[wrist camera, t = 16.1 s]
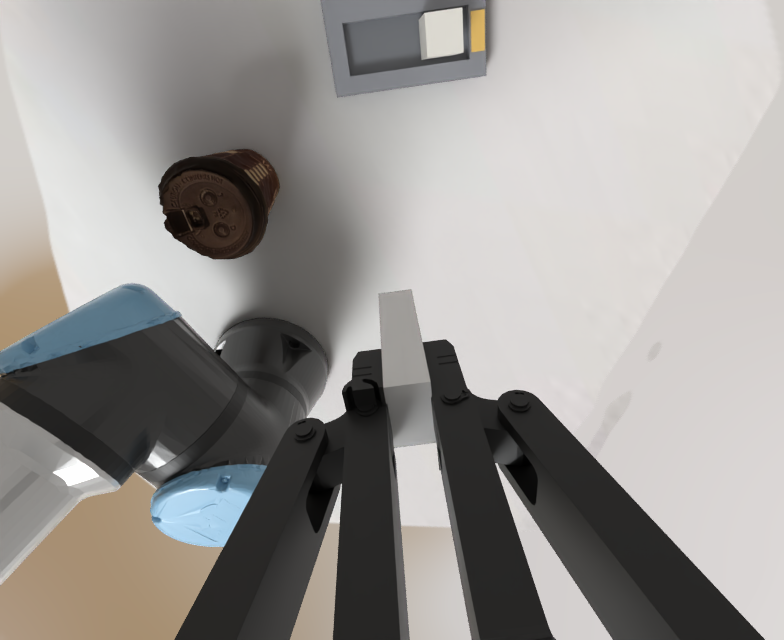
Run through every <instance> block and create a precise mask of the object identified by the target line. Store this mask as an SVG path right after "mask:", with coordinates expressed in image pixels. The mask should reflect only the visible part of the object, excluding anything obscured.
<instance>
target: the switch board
mask: <svg viewBox="0 0 784 640" xmlns="http://www.w3.org/2000/svg"><path fill="white" fill-rule="evenodd" d="M321 6H322V11H323V17H324V23H325V29H326V35H327V41H328V47H329V53H330V58H331V64H332V70H333V76H334V82H335V88H336V94H337V97H343V96H350V95H357V94H364V93H371V92H378V91H385V90H392V89H399V88H405V87H412V86H419V85H426V84H433V83H440V82H447V81H454V80H461V79H468V78H475V77H481V76H486V0H321ZM461 7H462V13H463V47H464V52H463V53H460V54H456V55H451V56H444V57H438V58H431V59H424V60H421V47H420V34H419V21H418V20H419V19H420V18H421V16H422V15H423V14H424V13H428V12H434V11H441V10H448V9H455V8H461Z"/></svg>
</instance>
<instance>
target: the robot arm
mask: <svg viewBox="0 0 784 640" xmlns="http://www.w3.org/2000/svg"><path fill="white" fill-rule="evenodd" d="M379 313H380V332H381V349H376V350H369V351H361V352H358V353H357V355H356V356H355V358H354V359H353V367H352V369H353V370H352V380H351V381H349V382H348V383H347V384H346V385H345V386H344V388H343V390H342V395H343V399H344V403H345V407H346V412H345V413H344V414H343V415H342V416H341V417H339V418H337V419H335V420H333V421H331V422H328V423H325V424H324V423H323V422H322V421H320V420H319V419H315V418H306V417H307V416H308V414H309V413H310V411H311V410H312V408H313V407H314V405H315V404H316V402H317V401H318V400H319V399H320V397H321V395H322V393H323V391H324V389H325V385H326V381H327V373H328V363H327V358H326V355H325V353H324V351H323V349H322V347H321V346H320V344H319V343H318V342H317V340H316V339H315V338H314V337H313V336H312V335H310V334H309V333H308V332H307V331H305V330H304V329H302V328H300V327H298V326H296V325H294V324H292V323H289V322H286V321H282V320H278V319H270V318H259V319H252V320H247V321H244V322H241V323H239V324H237V325H235V326H233V327H232V328H230V329H229V330H228V331H226V332H225V333H224V334H223V335H222V337H221V338H220V339H219V341H218V343H217V344H216V346H215V348H214V350H213V349H212V348H211V347H210V346H209V345H208V344H207V343H206V342H205V341H204V340H203V339H202V338H201V337H200V336H199V335H198V334H197V333H196V332H195V331H194V330H193V328H192V327H191V326H190V325H189V324H188V323H187V322H186V321H185V320H184V319H183V318H182V317H181V313H180V312H178V311H174V310H173V309H172V308H171V307H170V306H169V305H168V304H166V303H165V302H164V301H163V300H162V299H161V298H160V297H159V296H158V295H157V294H155V293H154V292H153V291H152V290H151V289H149V288H148V287H146V286H144V285H141V284H135V283H130V284H124V285H121V286H119V287H117V288H114V289H112V290H111V291H109V292H107V293H105V294H103V295H101V296H99V297H97V298H95V299H94V300H92V301H90V302H88V303H86V304H84V305H82V306H81V307H79V308H77V309H75V310H73V311H72V312H70V313H68V314H66V315H64V316H62V317H60V318H59V319H57V320H55V321H53V322H51V323H49V324H48V325H46V326H44V327H42V328H40V329H39V330H37V331H35V332H33V333H31V334H30V335H28V336H26V337H24V338H23V339H21V340H19V341H18V342H16V343H14V344H12V345H10V346H9V347H7V348H5V349H3V350H1V351H0V375H1V377H0V585H1V584H2V583H3V582H4V581H5V580H6V579H7V578H8V577H9V576H10V575H11V573H12V572H13V571H14V570H15V569H16V568H17V567H18V566H19V565H20V564H21V563H22V562H23V561H24V560H25V559H26V558H27V556H29V554H30V553H31V552H32V551H33V550H34V549H35V548H36V547H37V546H38V545H39V544H40V543H41V542H42V541H43V540H44V539H45V537H46V536H47V535H48V534H49V533H50V532H51V531H52V530H53V529H54V528H55V527H56V526H57V525H58V524H59V523H60V522H61V520H62V519H63V518H64V517H65V516H66V515H67V514H68V513H69V512H70V511H71V510H72V509H73V508H74V507H75V506H76V505H77V504H78V503H79V501H81V500H83V499H85V498H87V497H89V496H94V495H98V494H103V493H108V492H113V491H116V490H118V489H119V488H120V487H121V486H122V485H123V484H124V482H125V481H126V480H127V479H128V478H129V477H130V476H131V475H132V473H134V472H136V473H138V474H139V475H141V476H142V477H143V478H145V479H146V480H147V481H149V482H150V483H151V484H153V485H154V486H155V487H156V488H157V490H156V492H155V493H154V494H153V496H152V499H151V508H150V512H151V514H152V521H153V523H154V524H155V526H156V527H157V528H158V529H159V530H160V531H162V532H163V533H164V534H166V535H168V536H170V537H171V538H173V539H176V540H179V541H181V542H185V543H188V544H193V545H199V546H208V547H218V546H219V547H224V548H223V550H222V552H221V553H220V555H219V557H218V559H217V561H216V563H215V565H214V567H213V568H212V570H211V572H210V574H209V576H208V578H207V580H206V581H205V583H204V585H203V587H202V589H201V591H200V593H199V595H198V596H197V598H196V600H195V602H194V604H193V606H192V608H191V610H190V611H189V614H188V615H187V617H186V619H185V621H184V623H183V625H182V626H181V628H180V630H179V632H178V634H177V636H176V638H175V640H290V637H291V634H292V631H293V628H294V625H295V622H296V619H297V616H298V613H299V610H300V607H301V604H302V601H303V598H304V595H305V592H306V589H307V586H308V583H309V580H310V577H311V574H312V571H313V568H314V565H315V562H316V559H317V556H318V553H319V550H320V547H321V544H322V541H323V538H324V535H325V532H326V529H327V526H328V523H329V520H330V517H331V514H332V511H333V508H334V505H335V502H336V499H337V496H338V493H339V490H340V485H341V484H342V495H341V512H340V530H339V547H338V563H337V580H336V596H335V614H334V631H333V640H410V639H409V627H408V613H407V600H406V588H405V574H404V561H403V548H402V535H401V522H400V509H399V496H398V483H397V470H396V459H395V453H394V448H398V447H406V446H413V445H421V444H429V443H437V451H438V461H439V470H441V475H442V480H443V485H444V491H445V496H446V502H447V507H448V513H449V518H450V524H451V529H452V535H453V540H454V545H455V551H456V556H457V562H458V567H459V572H460V578H461V584H462V589H463V594H464V599H465V605H466V611H467V616H468V622H469V626H470V633H471V637H472V640H556V639H555V638H554V637H553V635H552V634H551V631H550V629H549V626H548V623H547V620H546V617H545V614H544V611H543V608H542V605H541V602H540V599H539V596H538V593H537V590H536V587H535V584H534V581H533V578H532V575H531V572H530V568H529V566H528V563H527V559H526V556H525V553H524V550H523V547H522V544H521V541H520V538H519V535H518V532H517V529H516V526H515V523H514V520H513V517H512V514H511V510H510V507H509V504H508V501H507V498H506V495H505V492H504V489H503V486H502V483H501V480H500V477H499V474H498V471H497V468H496V465H495V463H498V465H499V468H500V469H501V471H502V472H503V474H504V475H505V477H506V478H507V480H508V481H509V483H510V484H511V486H512V487H513V489H514V490H515V492H516V493H517V495H518V496H519V498H520V499H521V501H522V502H523V504H524V505H525V507H526V508H527V510H528V511H529V513H530V514H531V516H532V518H533V519H534V521H535V522H536V524H537V525H538V527H539V528H540V530H541V531H542V533H543V534H544V536H545V537H546V539H547V540H548V542H549V543H550V545H551V546H552V548H553V549H554V551H555V552H556V554H557V555H558V557H559V558H560V560H561V561H562V563H563V564H564V566H565V568H566V569H567V570H568V572H569V574H570V575H571V577H572V578H573V580H574V581H575V583H576V584H577V586H578V587H579V589H580V590H581V592H582V593H583V595H584V596H585V598H586V599H587V601H588V602H589V604H590V605H591V607H592V608H593V610H594V611H595V613H596V614H597V616H598V618H599V619H600V620H601V622H602V624H603V625H604V627H605V628H606V630H607V631H608V632H609V634H610V636H611V637H612V639H613V640H765V639H764V638H763V637H762V636H761V635H760V634H759V633H758V632H757V631H756V630H755V629H754V628H753V626H751V624H750V623H749V622H748V621H747V620H746V619H745V618H744V617H743V616H742V615H741V614H740V613H739V612H738V610H737V609H736V608H735V607H734V606H733V605H732V604H731V603H730V602H729V601H728V600H727V599H726V598H725V597H724V596H723V594H721V592H720V591H719V590H718V589H717V588H716V587H715V586H714V585H713V584H712V583H711V582H710V581H709V580H708V579H707V577H706V576H705V575H704V574H703V573H702V572H701V571H700V570H699V569H698V568H697V567H696V566H695V565H694V564H693V563H692V562H691V560H690V559H689V558H688V557H687V556H686V555H685V554H684V553H683V552H682V551H681V550H680V549H679V548H678V547H677V545H675V543H674V542H673V541H672V540H671V539H670V538H669V537H668V536H667V535H666V534H665V533H664V532H663V531H662V529H661V528H660V527H659V526H658V525H657V524H656V523H655V522H654V521H653V520H652V519H651V518H650V517H649V516H648V515H647V514H646V512H644V511H643V509H642V508H641V507H640V506H639V505H638V504H637V503H636V502H635V501H634V500H633V499H632V498H631V497H630V495H629V494H628V493H627V492H626V491H625V490H624V489H623V488H622V487H621V486H620V485H619V484H618V483H617V482H616V481H615V480H614V478H613V477H612V476H611V475H610V474H609V473H608V472H607V471H606V470H605V469H604V468H603V467H602V466H601V465H600V463H598V461H597V460H596V459H595V458H594V457H593V456H592V455H591V454H590V453H589V452H588V451H587V450H586V449H585V447H584V446H583V445H582V444H581V443H580V442H579V441H578V440H577V439H576V438H575V437H574V436H573V435H572V434H571V433H570V431H569V430H568V429H567V428H566V427H565V426H564V425H563V424H562V423H561V422H560V421H559V420H558V419H557V418H556V417H555V416H554V414H553V413H552V412H551V411H550V410H549V409H548V408H547V407H546V406H545V405H544V404H543V403H542V402H541V401H540V400H539V398H537V397H536V396H535V395H533V394H532V393H529V392H526V391H522V390H513V391H508V392H506V393H504V394H502V395H501V396H500V397H499V399H498V400H488V399H483V398H480V397H477V396H475V395H474V394H472V393H471V392H470V390H469V389H468V388H467V387H466V384H465V381H464V378H463V374H462V371H461V368H460V365H459V363H458V359H457V356H456V353H455V350H454V346H453V345H452V344H451V343H449V342H448V341H447V340H446V339H445V340H438V341H430V342H422V338H421V333H420V328H419V324H418V319H417V314H416V309H415V304H414V299H413V295H412V290H411V289H410V290H403V291H395V292H388V293H381V294H379Z"/></svg>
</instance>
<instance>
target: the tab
mask: <svg viewBox="0 0 784 640" xmlns="http://www.w3.org/2000/svg"><path fill="white" fill-rule="evenodd" d="M418 21H419V34H420V47H421V60H424V59H431V58H438V57H444V56H451V55H456V54H460V53H463V52H464V47H463V13H462V7H461V8H455V9H448V10H441V11H434V12H428V13H424V14H423V15H422V16H421V18H420V19H419V20H418Z"/></svg>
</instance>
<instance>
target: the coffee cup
mask: <svg viewBox="0 0 784 640" xmlns="http://www.w3.org/2000/svg"><path fill="white" fill-rule="evenodd" d="M158 188H159V191H160V192H159V196H160V197H159V198H160V205H162V206H163V214H164V215H166V216H167V219H166V220H165V222H164V224H165V229H166V230H167V231H169V232H170V233H171V234H172V235H173V237H174V238H175V239H177V240H178V241H180V242H182V243H183V244H185V245H186V246H187V247H188V248H190V249H192V250H194V251H196V252H197V253H199V254H201V255H203V256H208V257H209V258H212V259H235V258H238V257H241V256H244V255H246V254H249V253H251V252H252V251H253V250H254V249H255V247H256V246H257V245H258V244H259V243H260V242H261V240H262V238H263V236H264V234H265V231H266V226H267V222H268V215H269V213H270V210H271V208H272V206H273V204H274V201H275V198H276V196H277V194H278V191H279V188H280V186H279V180H278V176H277V174H276V172H275V170H274V168H273V167H272V166H271V164H270V163H269V162H268V161H267V160H266V159H265V158H264V157H263V156H262V155H260V154H258V153H257V152H255V151H253V150H249V149H239V150H229V151H226V152H219V153H214V154H212V155H206V156H201V157H189V158H186V159H183V160H180V161H178V162H176V163H174V164H173V165H172V166H171V167H170V168H169V169H168V170H167V171H166V172H165V174H164V176H163V177H162V179H161V183H160V184H159V186H158Z"/></svg>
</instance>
